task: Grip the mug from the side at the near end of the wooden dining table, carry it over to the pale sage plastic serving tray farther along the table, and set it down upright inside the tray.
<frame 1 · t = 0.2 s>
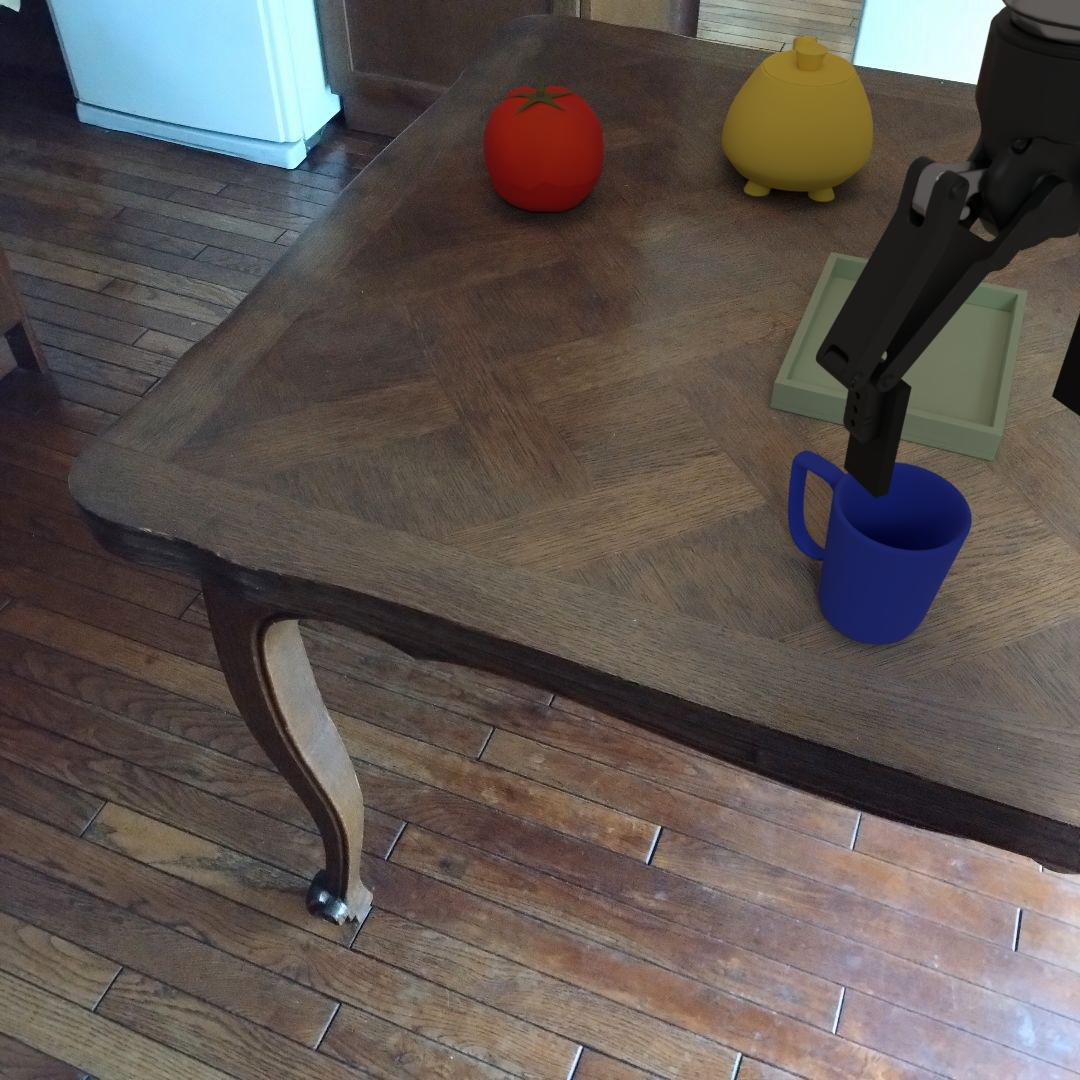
hand: (973, 443, 56), 18 cm above the table, tool pointing down, fingers open, 13 cm apart
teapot: (789, 170, 116), on the table
tomato: (545, 203, 111), on the table
mug: (843, 597, 73), on the table
tray: (900, 359, 91), on the table
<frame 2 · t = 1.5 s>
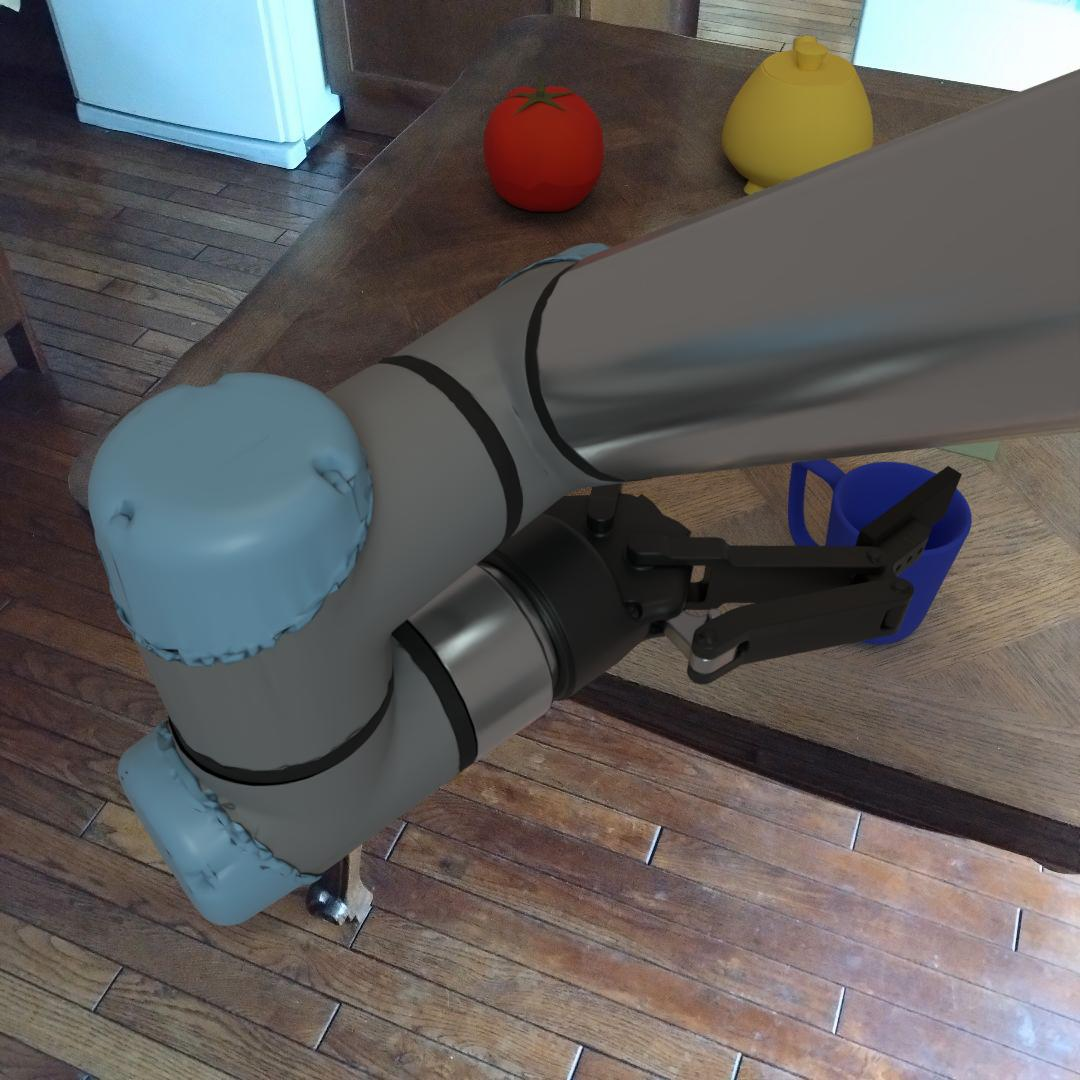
hand: (832, 419, 53), 21 cm above the table, tool horizontal, fingers open, 13 cm apart
nothing on the table moved.
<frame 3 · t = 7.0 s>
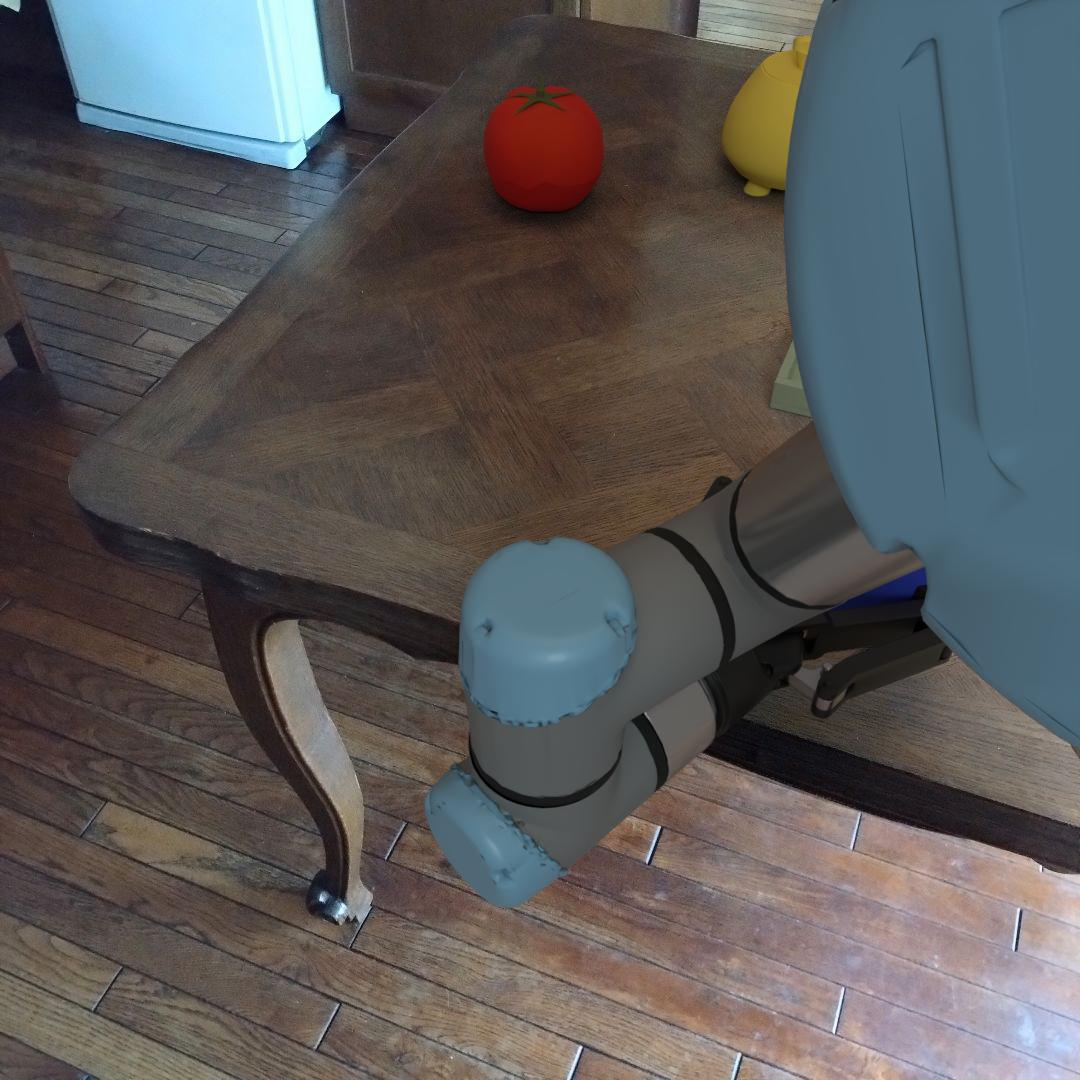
hand: (898, 505, 70), 6 cm above the table, tool horizontal, fingers closed on mug, 11 cm apart
mug: (849, 600, 72), on the table, touching gripper
everything else where it was.
when the fingers open (8 cm above the table, at t = 15.7 s): mug stays where it is, point 2 cm above the table.
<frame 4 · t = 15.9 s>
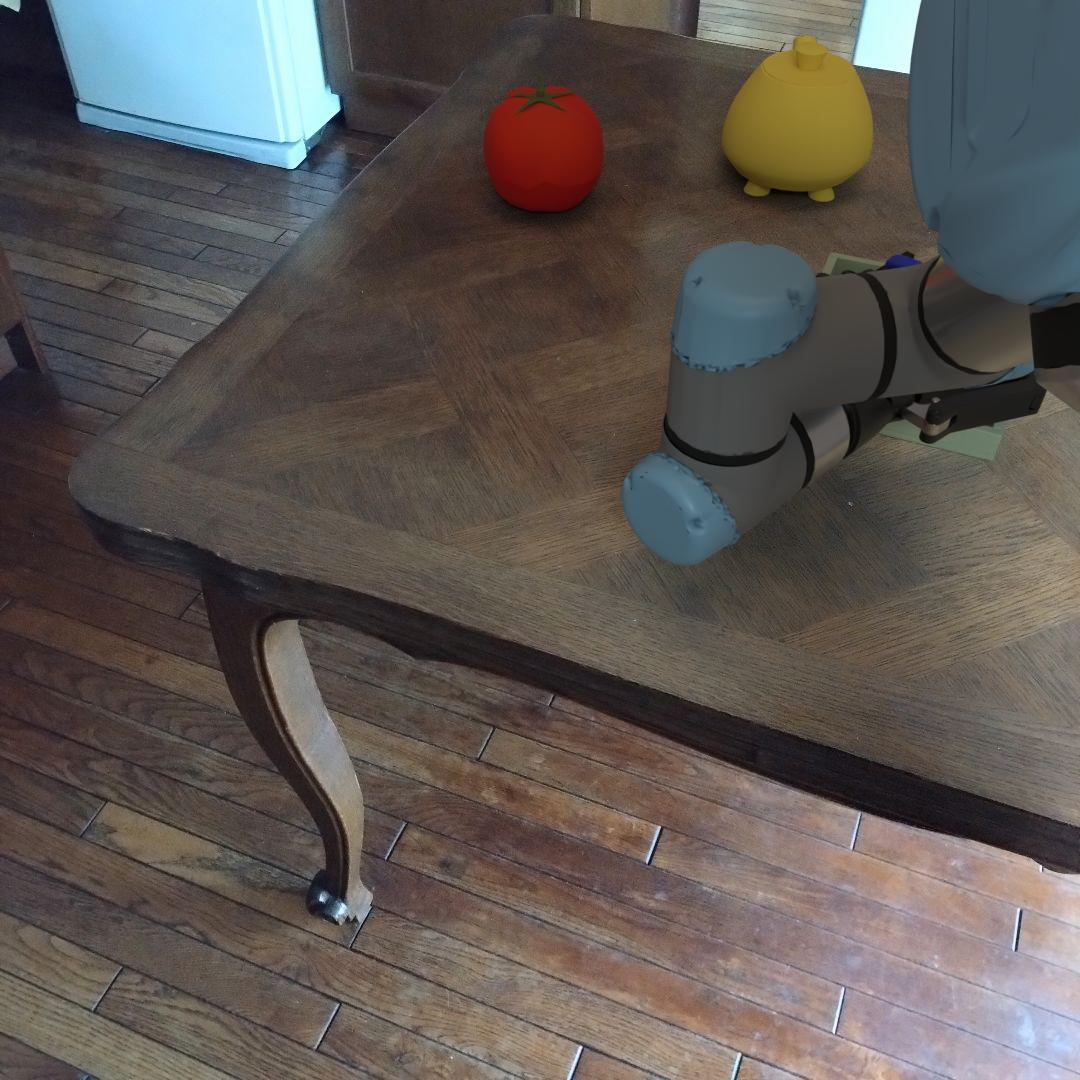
hand: (978, 299, 83), 8 cm above the table, tool horizontal, fingers open, 12 cm apart
mug: (937, 382, 86), point 2 cm above the table, touching gripper
everything else where it was.
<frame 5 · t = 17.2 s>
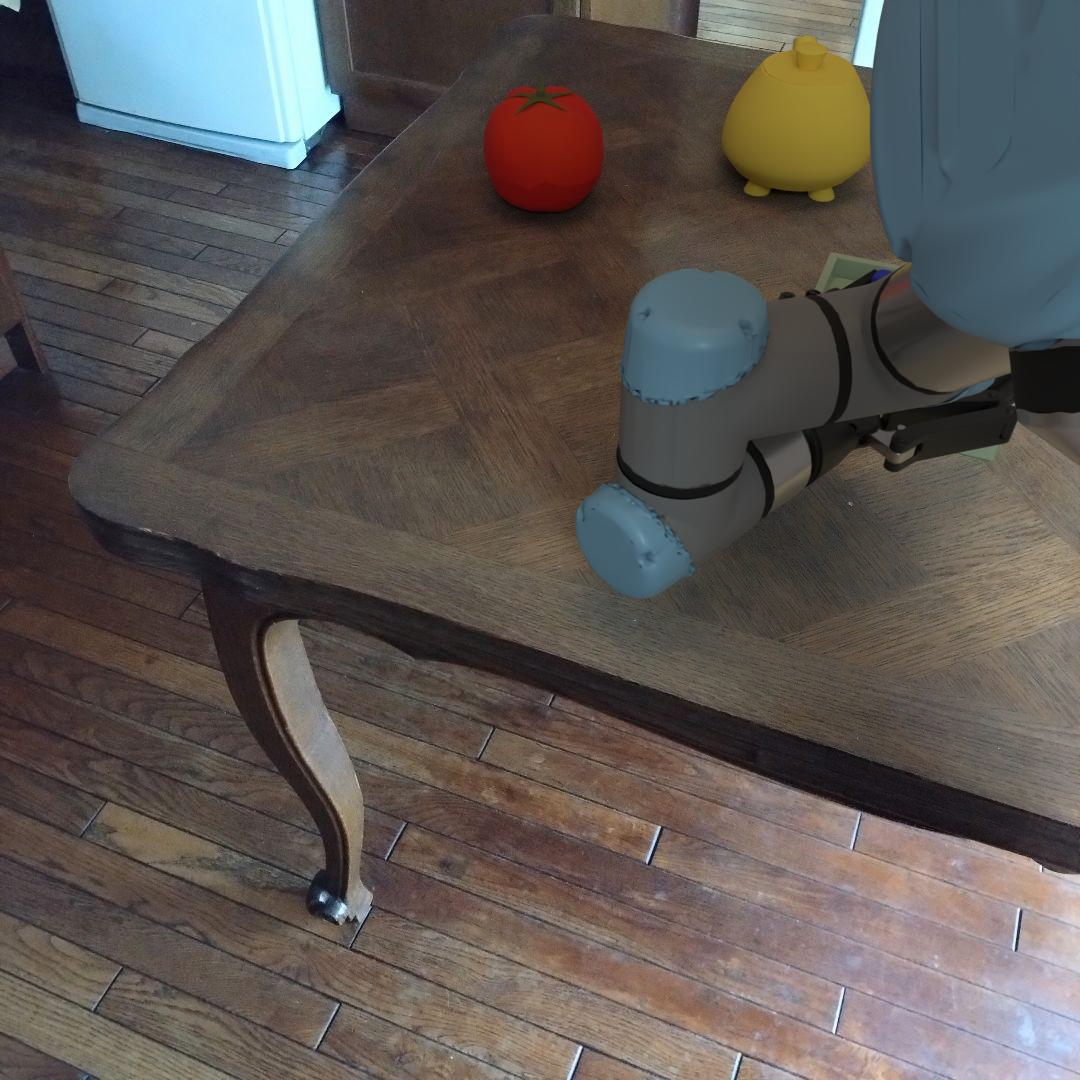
hand: (949, 321, 81), 8 cm above the table, tool horizontal, fingers open, 13 cm apart
mug: (914, 394, 87), point 1 cm above the table, touching gripper, tray
everything else where it was.
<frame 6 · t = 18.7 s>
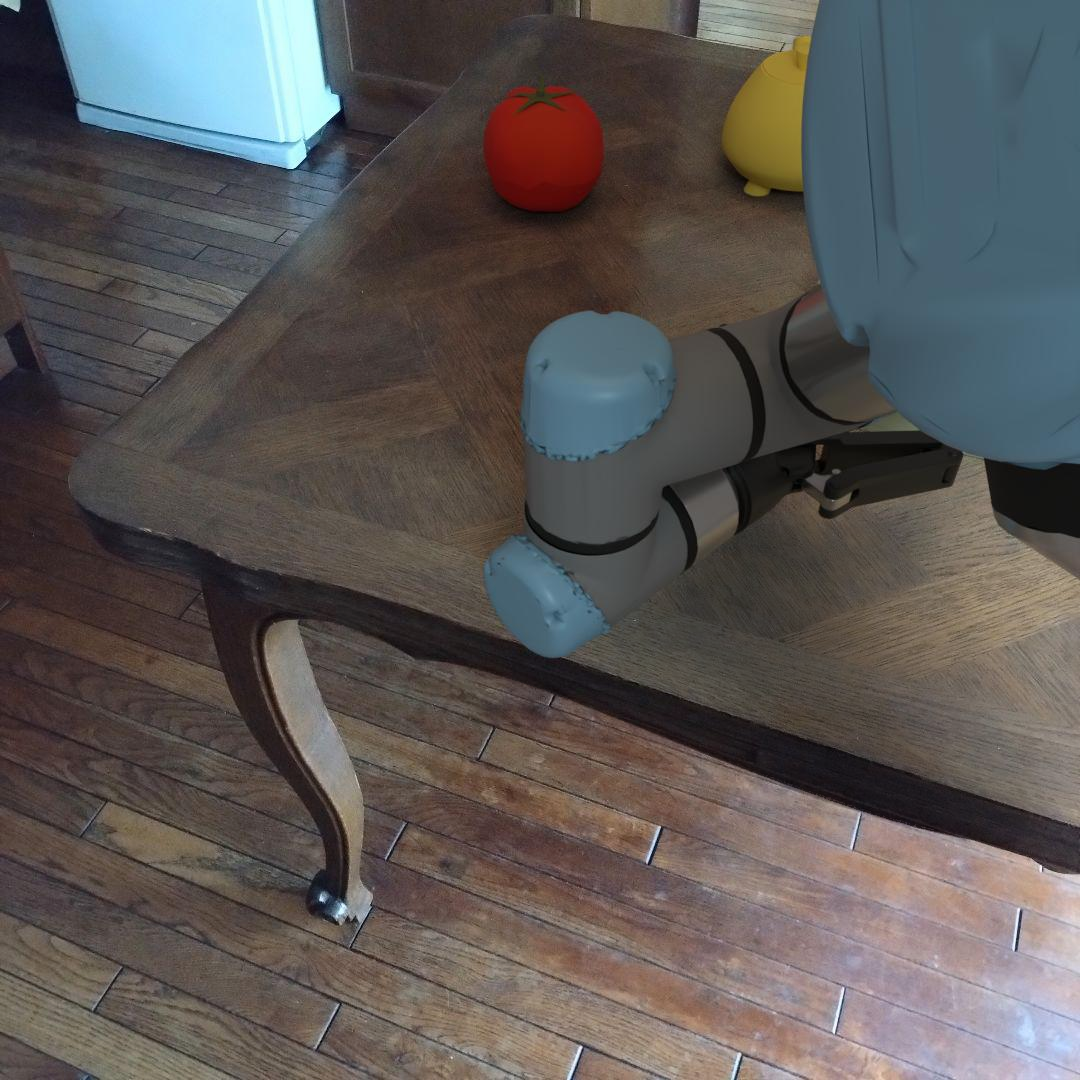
hand: (895, 355, 77), 9 cm above the table, tool horizontal, fingers open, 13 cm apart
mug: (893, 402, 87), resting on tray
everything else where it was.
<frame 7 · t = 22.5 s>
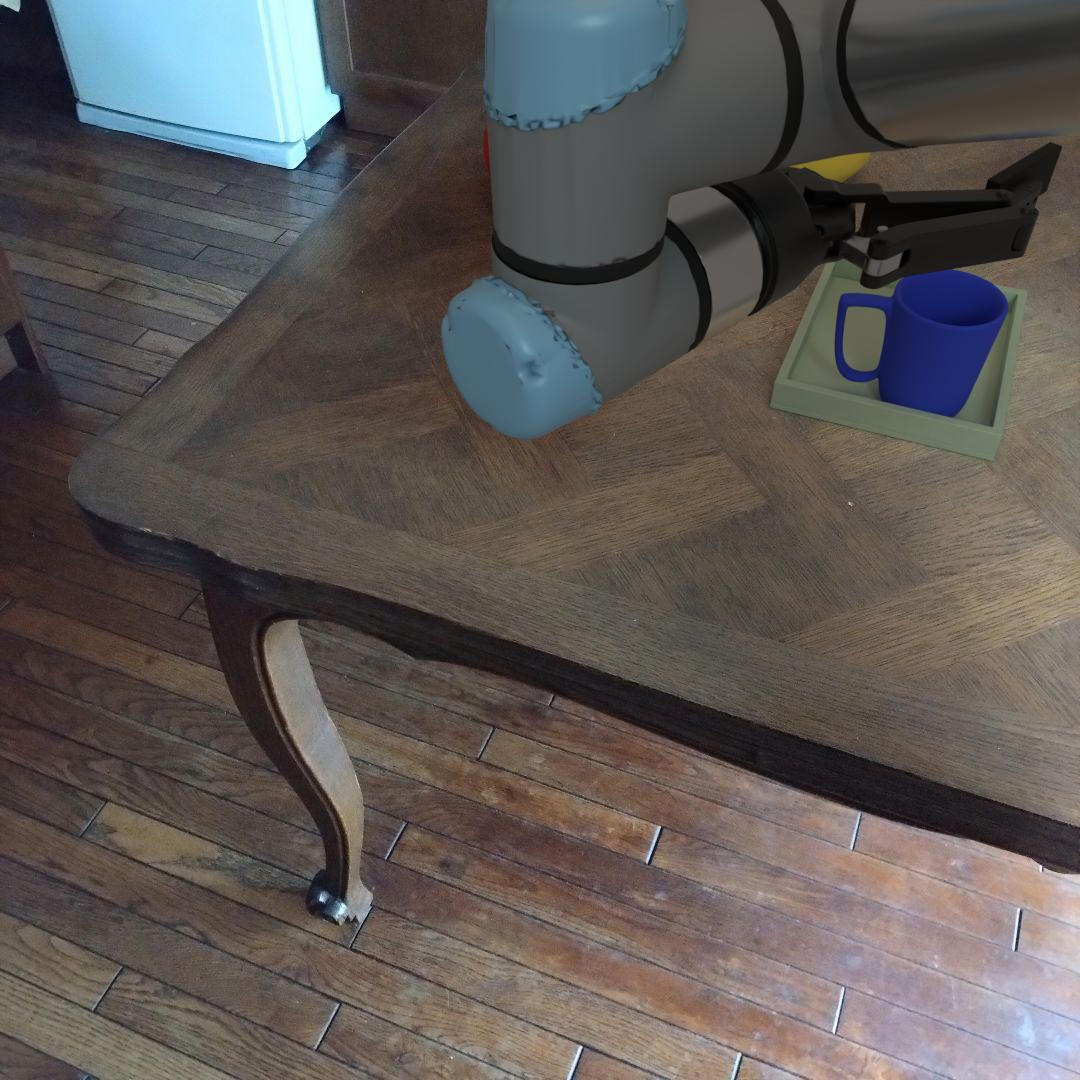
hand: (945, 128, 64), 26 cm above the table, tool horizontal, fingers open, 13 cm apart
nothing on the table moved.
at the end: mug inside the target area in the tray (6.8 cm from its centre), point 0.4 cm above the tray's base; mug tilted 0°; the gripper is holding nothing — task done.
